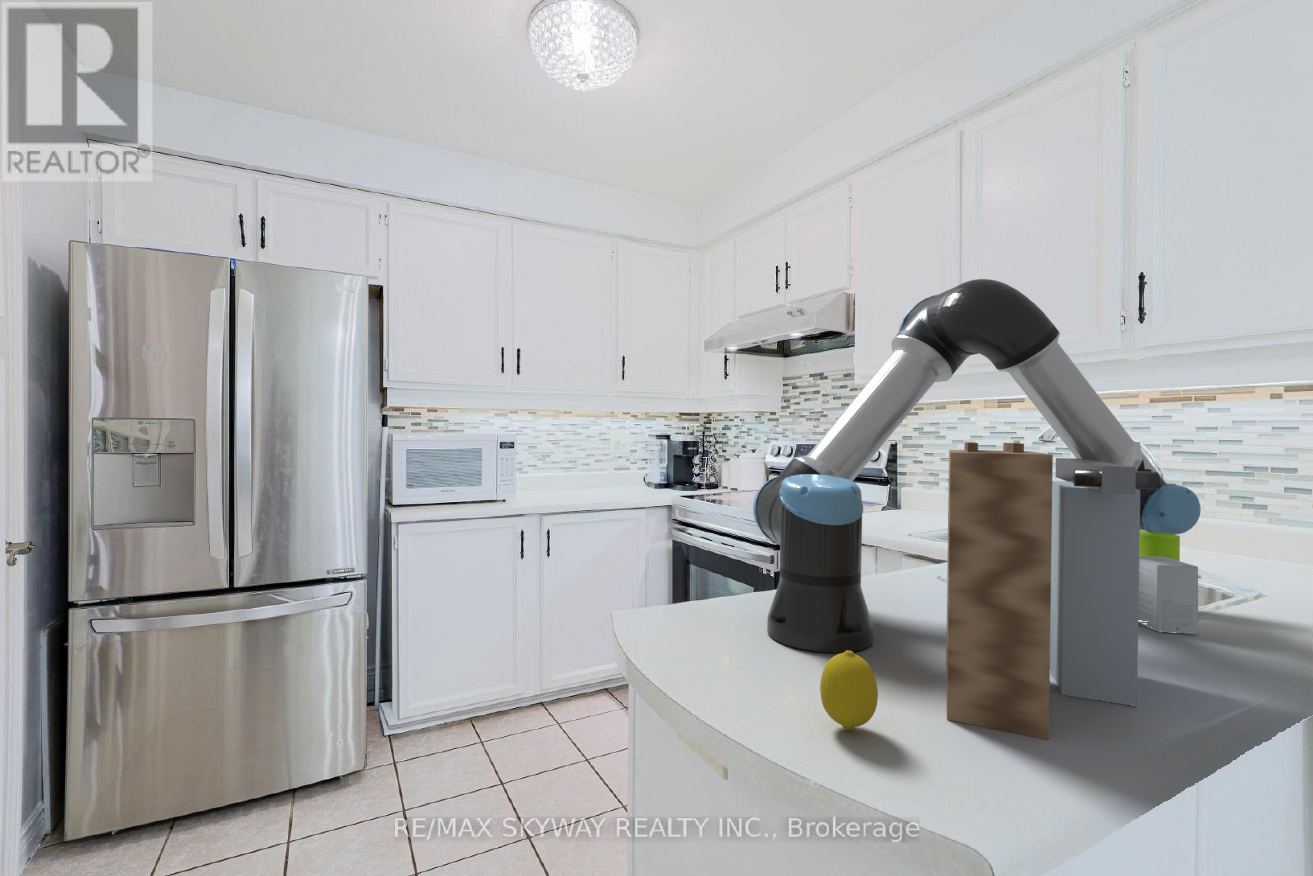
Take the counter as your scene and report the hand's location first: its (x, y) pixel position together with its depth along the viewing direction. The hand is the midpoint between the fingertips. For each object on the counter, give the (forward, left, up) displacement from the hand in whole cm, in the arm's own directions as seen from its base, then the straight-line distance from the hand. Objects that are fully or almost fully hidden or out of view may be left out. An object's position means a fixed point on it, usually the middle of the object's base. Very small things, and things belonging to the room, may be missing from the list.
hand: (1075, 449), depth 82 cm
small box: (+16, +23, -28) cm, 40 cm away
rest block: (0, -9, -28) cm, 30 cm away
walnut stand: (-11, -19, -28) cm, 36 cm away
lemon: (-24, -35, -28) cm, 51 cm away
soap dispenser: (+18, +35, -28) cm, 48 cm away
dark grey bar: (0, -8, -4) cm, 9 cm away
